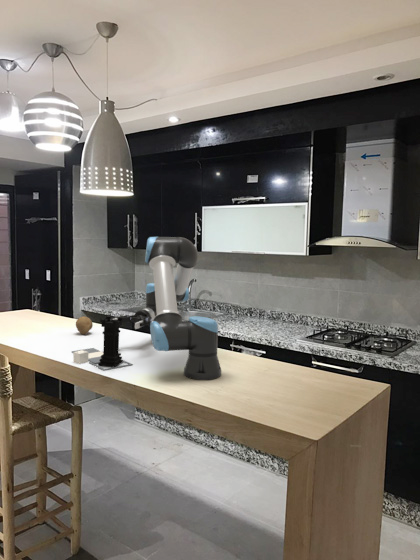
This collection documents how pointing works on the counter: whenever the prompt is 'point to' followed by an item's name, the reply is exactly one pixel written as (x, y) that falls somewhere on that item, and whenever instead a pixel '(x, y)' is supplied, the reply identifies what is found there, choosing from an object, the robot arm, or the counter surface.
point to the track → (93, 355)
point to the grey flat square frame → (113, 367)
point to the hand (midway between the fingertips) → (122, 324)
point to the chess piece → (111, 342)
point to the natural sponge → (84, 324)
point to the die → (80, 356)
